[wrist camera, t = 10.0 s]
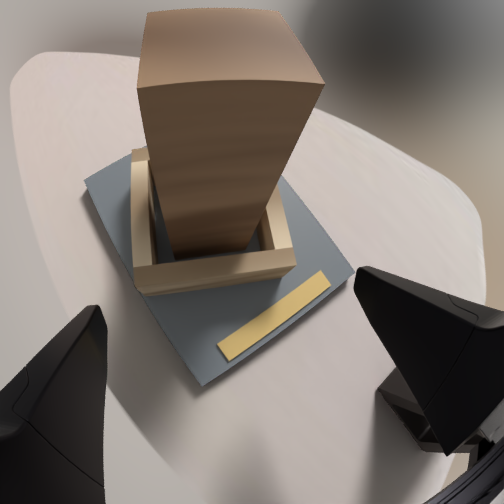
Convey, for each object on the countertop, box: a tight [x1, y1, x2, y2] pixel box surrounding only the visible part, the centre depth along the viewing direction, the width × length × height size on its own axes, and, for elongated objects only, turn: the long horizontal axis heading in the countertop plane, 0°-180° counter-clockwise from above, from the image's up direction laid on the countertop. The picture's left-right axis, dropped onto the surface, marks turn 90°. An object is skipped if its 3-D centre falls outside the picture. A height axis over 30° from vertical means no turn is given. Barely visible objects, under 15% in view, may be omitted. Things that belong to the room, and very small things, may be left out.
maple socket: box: [131, 148, 297, 297], centre depth 17 cm, size 8×8×3 cm
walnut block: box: [137, 8, 325, 260], centre depth 12 cm, size 4×4×13 cm
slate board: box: [84, 146, 355, 386], centre depth 19 cm, size 16×12×1 cm
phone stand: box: [378, 366, 484, 453], centre depth 13 cm, size 9×6×12 cm, turn 38°
